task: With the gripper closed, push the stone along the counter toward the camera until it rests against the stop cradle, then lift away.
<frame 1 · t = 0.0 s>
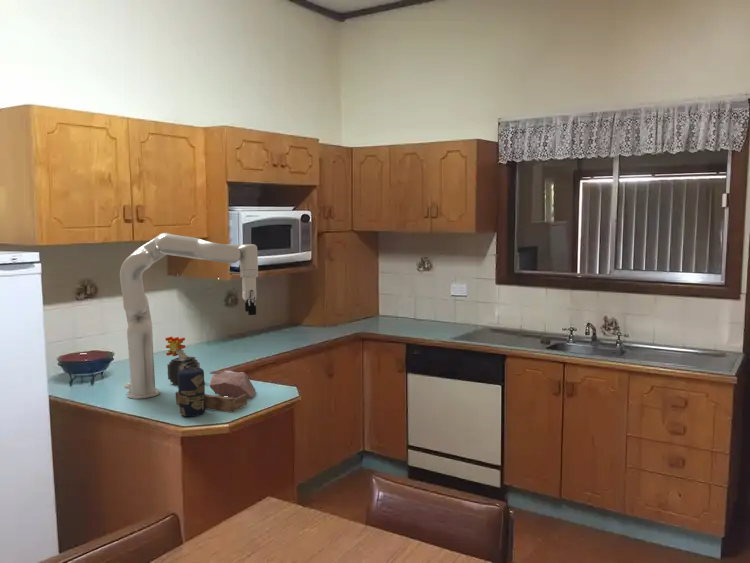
hand: (250, 313, 282), 31 cm above the counter, tool pointing down, fingers open, 9 cm apart
stone: (233, 395, 271), on the counter
stop cradle: (205, 407, 253), on the counter
bomb: (182, 383, 289), on the counter
canister: (192, 414, 246), on the counter
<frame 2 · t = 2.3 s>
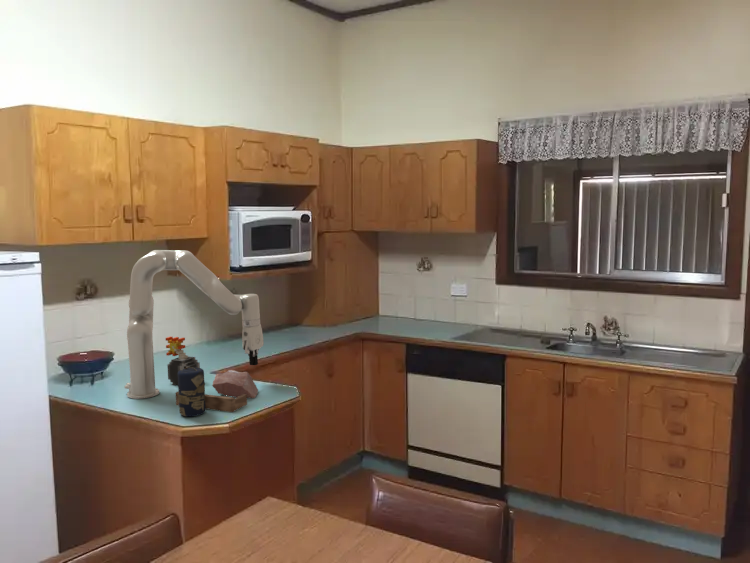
hand: (253, 364, 284), 9 cm above the counter, tool pointing down, fingers closed
stone: (236, 394, 271), on the counter
everything else where it was.
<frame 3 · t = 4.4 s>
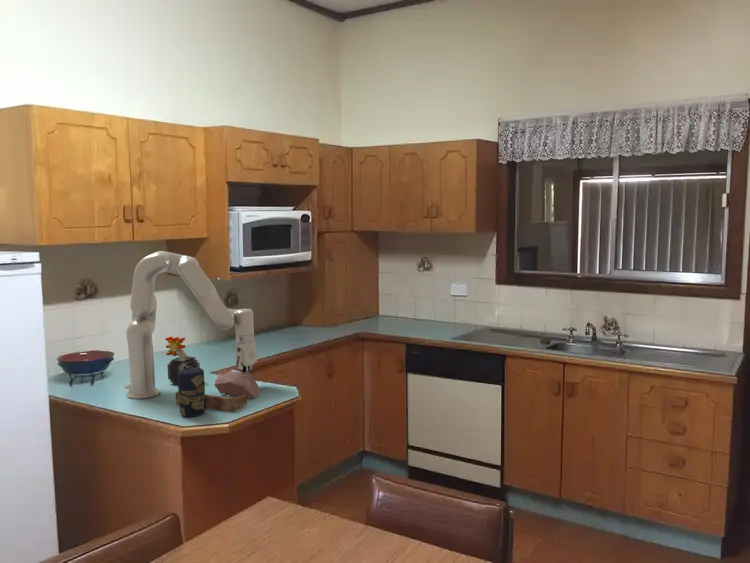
hand: (246, 380, 280), 3 cm above the counter, tool pointing down, fingers closed
stone: (238, 394, 271), on the counter, touching gripper
everything else where it was.
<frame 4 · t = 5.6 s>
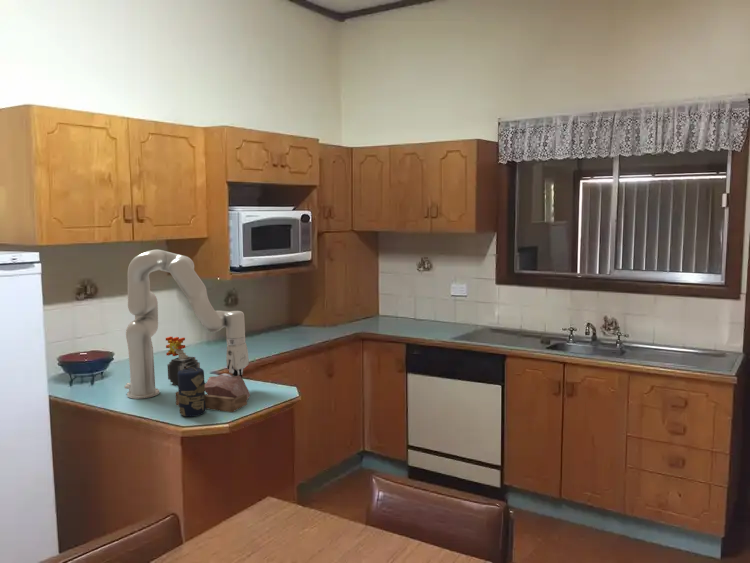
hand: (238, 384, 273), 3 cm above the counter, tool pointing down, fingers closed
stone: (228, 399, 265), on the counter, touching gripper
everything else where it was.
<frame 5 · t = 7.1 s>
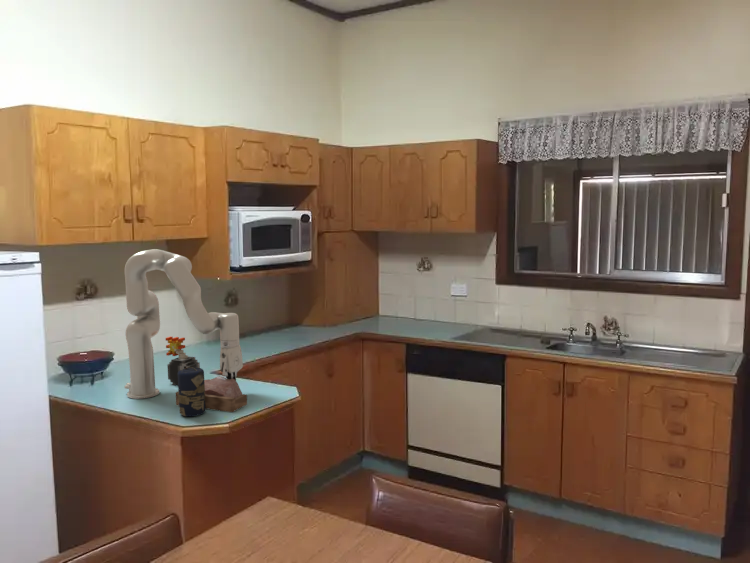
hand: (231, 387, 269), 3 cm above the counter, tool pointing down, fingers closed
stone: (222, 402, 261), on the counter
everything else where it was.
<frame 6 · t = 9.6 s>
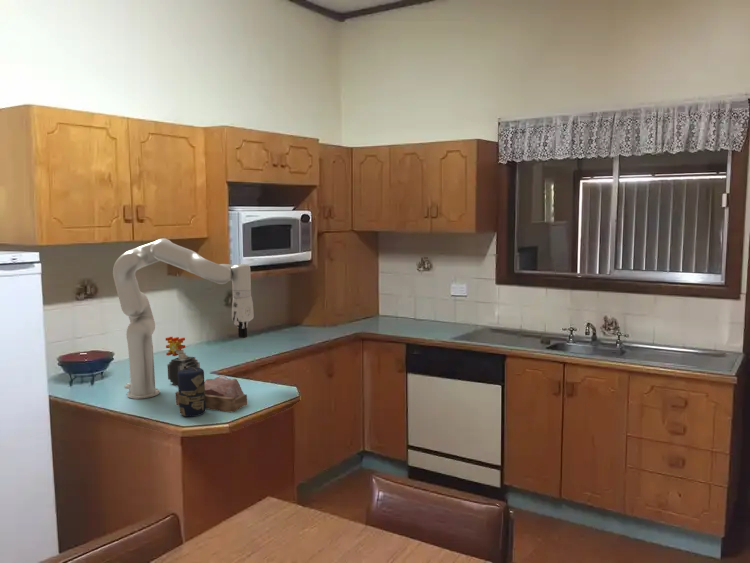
hand: (242, 337, 276), 22 cm above the counter, tool pointing down, fingers closed
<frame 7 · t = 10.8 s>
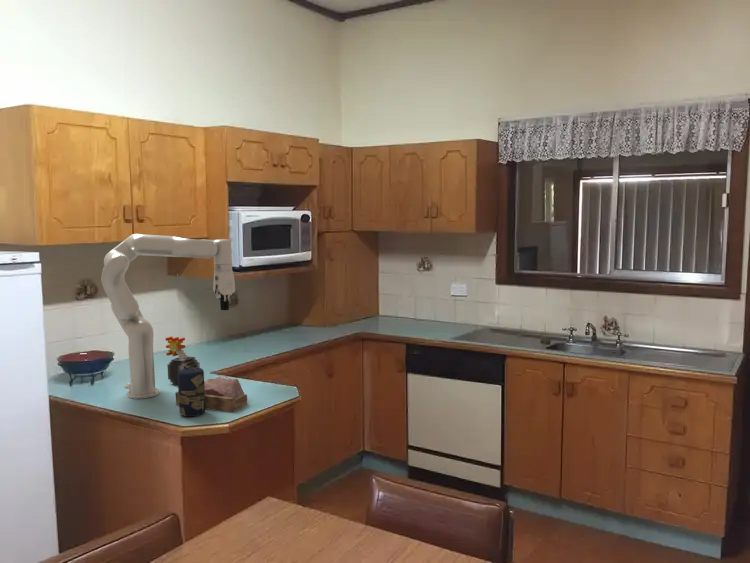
hand: (224, 309, 285), 32 cm above the counter, tool pointing down, fingers closed
nothing on the counter moved.
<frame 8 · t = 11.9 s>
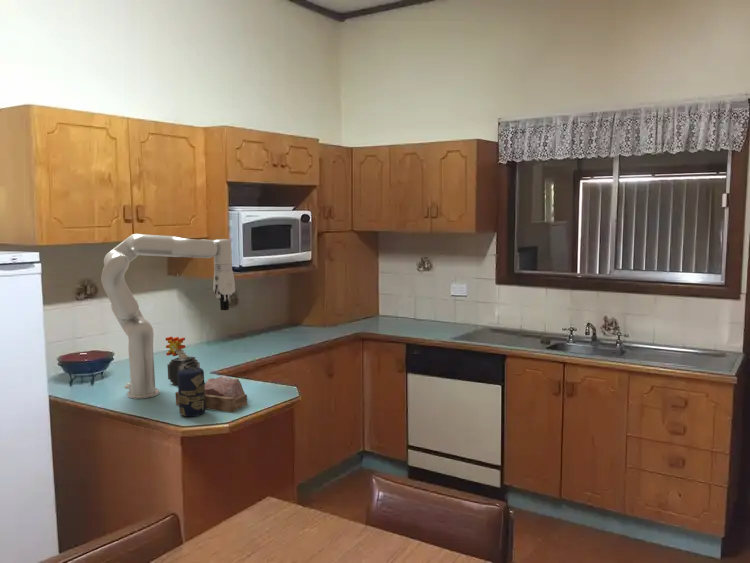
hand: (224, 309, 285), 32 cm above the counter, tool pointing down, fingers closed
at the end: stone inside the target area (2.6 cm from its centre), on the counter; stone tilted 0°; canister moved 0.2 cm from its start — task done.
